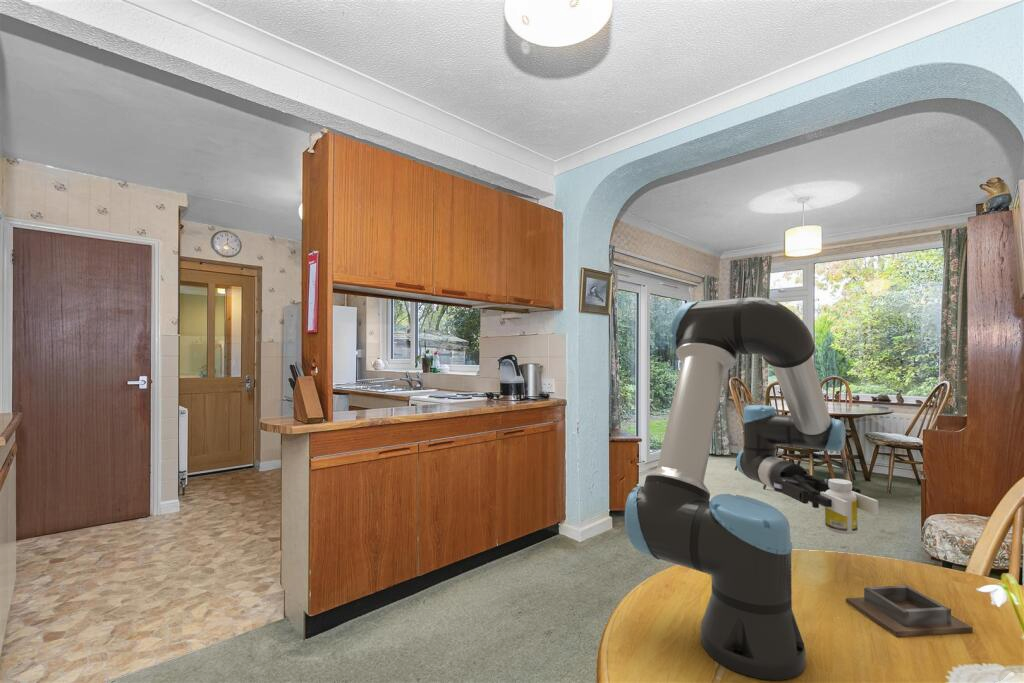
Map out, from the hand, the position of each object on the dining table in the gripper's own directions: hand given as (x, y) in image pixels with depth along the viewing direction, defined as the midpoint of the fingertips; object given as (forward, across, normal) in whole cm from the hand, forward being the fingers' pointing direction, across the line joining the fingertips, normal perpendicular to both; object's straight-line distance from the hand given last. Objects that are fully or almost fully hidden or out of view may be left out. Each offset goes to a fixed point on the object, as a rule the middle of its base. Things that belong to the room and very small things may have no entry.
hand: (861, 508), depth 93 cm
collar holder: (+5, -4, -18) cm, 19 cm away
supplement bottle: (-5, 0, -6) cm, 8 cm away
